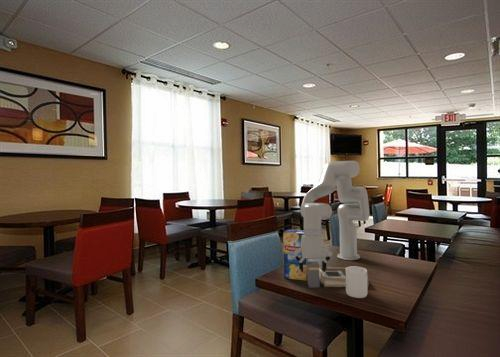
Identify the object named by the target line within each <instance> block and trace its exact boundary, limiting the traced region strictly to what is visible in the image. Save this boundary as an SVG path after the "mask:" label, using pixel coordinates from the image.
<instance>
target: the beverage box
mask: <svg viewBox="0 0 500 357" xmlns="http://www.w3.org/2000/svg"><path fill="white" fill-rule="evenodd" d="M282 235H283V237H282V238H283V241H282V242H283V245H282V246H283V278H285V279H290V280H298V281H306V282H308V280H307V262H310V259H304V260H303V261H302V262H303V272H301V269H299V261H298V260H297V259H296V258H295V256H294V254H293V252H294V251H296V250H298V249H300V248H301V238H302V235H304V230H299V229H285V230H284V231H283V232H282ZM297 256H298V257H299V258H300V257H301V252H300V253H298V254H297Z"/></svg>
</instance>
